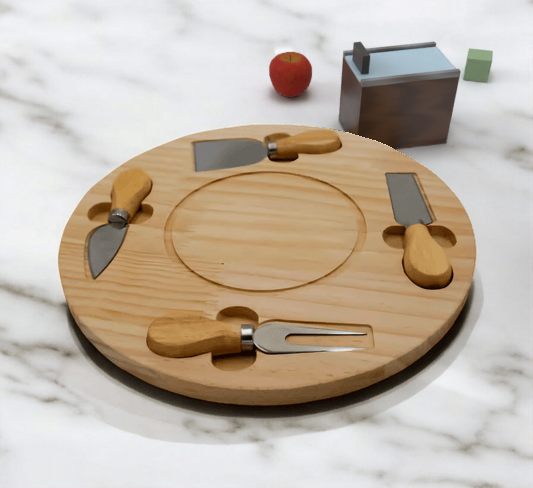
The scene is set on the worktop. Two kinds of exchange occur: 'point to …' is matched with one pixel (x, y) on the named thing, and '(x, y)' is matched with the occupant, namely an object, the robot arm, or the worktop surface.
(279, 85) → the apple
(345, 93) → the case
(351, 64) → the pane
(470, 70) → the block
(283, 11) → the worktop surface
